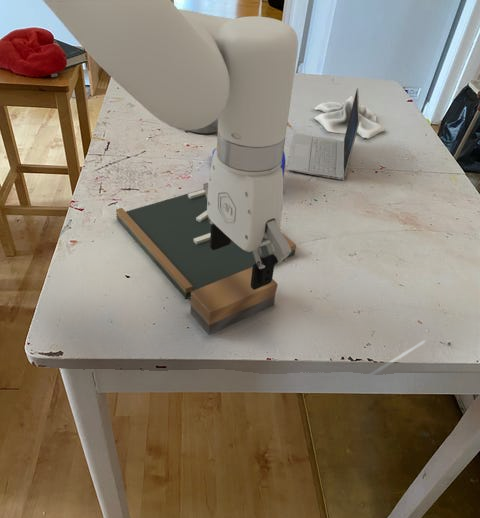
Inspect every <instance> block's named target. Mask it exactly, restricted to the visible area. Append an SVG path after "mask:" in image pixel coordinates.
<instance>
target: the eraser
mask: <svg viewBox="0 0 480 518" xmlns="http://www.w3.org/2000/svg"><path fill="white" fill-rule="evenodd" d="M252 268H253V267H251V268H249V269H246V270H244V271H241V272H239V273H236V274H234V275H231V276H229V277H226V278H224V279H221V280H219V281H216V282H214V283H211V284H209V285H206V286H204V287H201V288H199V289H196V290H194V291H191V297H190V315H191V316H192V317H193V318H194V319H195V321H196V322H197V323H198V324H199V326H200V327H201V328H202V329H203V330H204V331H205V332H206V334H207V335H208V336H210V335H211V334H214V333H216V332H218V331H220V330H223V329H224V328H227V327H229V326H231V325H233V324H236V323H238V322H240V321H242V320H244V319H246V318H249V317H251V316H253V315H255V314H257V313H259V312H262V311H263V310H266V309H268V308H270V307H273V306H274V304H275V299H276V294H277V288H278V283H277V282H276V280H275V279H274V278H272V281H271V283H269V284H267V285H265V286H262V287H260V288H258V289H255V290H253V289H252V288H251V277H252Z"/></svg>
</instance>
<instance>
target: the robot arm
mask: <svg viewBox="0 0 480 518" xmlns="http://www.w3.org/2000/svg"><path fill="white" fill-rule="evenodd" d="M42 1H43V2H44V4H45V5H46V6H47V7H48V8H49V9H50V11H51V12H52V13H53V14H54V15H55V16H56V18H57V19H58V20H59V21H60V22H61V23H62V24H63V25H64V27H65V28H66V30H67V31H68V32H69V33H70V35H72V36H73V38H74V39H75V41H77V43H79V44H80V46H81V47H82V48H83V49H84V51H85V52H86V53H87V54H88V55H89V56H90V58H92V59H93V60H94V61H95V62H96V63H97V64H98V65H99V66H100V68H101V69H102V70H103V71H104V72H105V73H107V75H108V76H109V77H110V78H112V79H113V80H114V81H115V82H116V84H118V85H119V86H120V87H121V88H123V90H124V91H126V92H127V94H129V95H130V96H131V97H132V98H134V100H136V101H137V102H138V103H139V104H140V105H141V106H142V107H143V108H144V109H145V110H146V111H147V112H149V113H150V114H151V115H152V116H153V117H155V118H156V119H158V120H159V121H160V122H162V123H164V124H166V125H167V126H170V127H171V128H174V129H177V130H183V131H188V130H197V129H200V128H204V127H206V126H208V125H210V124H211V123H212V122H214V121H215V120H216V119H217V118H218V131H217V135H216V137H217V138H216V139H217V140H216V147H215V148H216V149H215V148H214V149H215V151H214V155H213V154H212V155H213V158H212V157H211V163H210V169H209V176H208V182H205V183H204V184H203V189H204V190H205V195H206V198H207V200H206V206H207V214H208V219H209V222H210V223H211V224H213V225H211V234H210V248H211V249H212V250H216V249H219V248H221V247H224V246H227V245H229V244H230V243H231V240H232V241H233V242H234V243H235V244H237V245H238V246H239V247H240V248H241V249H243V250H245V251H247V252H251V251H252V252H253V255H254V258H255V261H256V264H254V265H253V268H252V277H251V288H252V289H253V290H255V289H258V288H260V287H262V286H265V285H267V284H269V283H271V281H272V279H273V277H274V272H275V271H274V269H275V265H278V264H279V263H282V262H284V261H286V259H287V258H286V257H287V256H288V255H289V254H290V253H291V248H290V246H289V244H288V242H287V241H286V239H285V237H284V236H283V234H284V233H283V232H282V230H281V224H282V223H281V222H282V214H283V200H284V175H283V170H282V168H281V164H282V157H283V150H284V151H285V143H286V136H287V130H288V129H287V128H288V123H289V122H288V121H289V120H288V119H289V115H290V108H291V101H292V94H293V86H294V79H295V73H296V65H297V59H298V49H299V39H298V35H297V32H296V30H295V29H294V28H293V27H292V26H291V25H290V24H289V23H287V22H284V21H282V20H279V19H276V18H273V17H267V16H256V15H254V16H253V15H251V16H250V15H249V16H243V17H241V16H240V17H237V18H231V17H224V16H217V15H212V14H207V13H202V12H198V11H195V10H194V11H193V10H188V9H182V8H177V6H176V5H175V4H174V3H173V2H172V1H171V0H42ZM282 233H283V234H282ZM263 237H265V240H263V241H262V239H263ZM265 245H266V247H267V250H268V253H269V256H266V257H264V258H263V255H262V252H261V249H260V247H263V246H265Z"/></svg>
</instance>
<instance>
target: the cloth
mask: <svg viewBox="0 0 480 518" xmlns="http://www.w3.org/2000/svg"><path fill="white" fill-rule="evenodd" d="M354 98H355V96H353V95H351V96H350V97H348V98H347V99H346V100H345V101H343V103H339V102H336V101H327V102H322V103H319V104H318V105H317V106H316V107H314V110H316V111H321V112H323V113H320V114H317V115H316V116H315V117H313V119H314V120H315V121H316V122H318V123H319V124H320V125H321V126H322V127H323V128H324V129H325V130H326V132H328V133H334V134H343V135H345V134H346V130H347V126H348V122H349V118H350V114H351V110H352V106H353V102H354ZM359 118H360V122H359V126H358V130H357V134H358V135H359V136H360V137H361V138H363V139H368V140H369V139H370V138H372V137H375V136H376V135H378V134H380V133H382V132H385V131H386V130H385V128H384V126H383V125H381V124H380V123H378V122H377V115H376V114H375V113H374V112H373V111H372V110H371V109H369V108H368V107H366V106H365V105H364V104H361V103H359Z"/></svg>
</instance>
